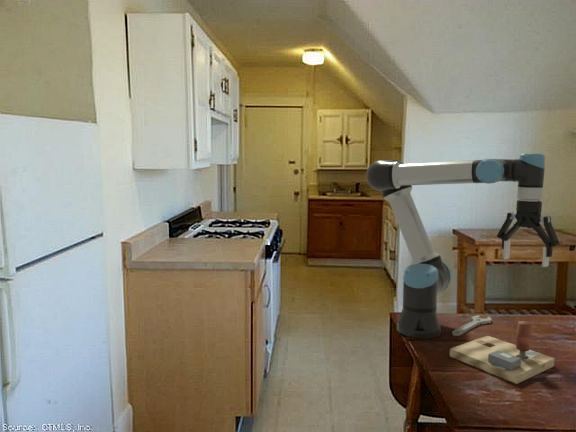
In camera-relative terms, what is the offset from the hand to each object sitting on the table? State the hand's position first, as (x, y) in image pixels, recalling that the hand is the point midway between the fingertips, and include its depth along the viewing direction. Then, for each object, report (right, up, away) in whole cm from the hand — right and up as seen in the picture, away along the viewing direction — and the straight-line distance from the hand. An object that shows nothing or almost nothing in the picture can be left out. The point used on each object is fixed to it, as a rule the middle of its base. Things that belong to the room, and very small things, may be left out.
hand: (525, 262), depth 161 cm
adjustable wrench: (-13, -26, +15) cm, 33 cm away
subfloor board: (-15, -29, -15) cm, 36 cm away
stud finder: (-18, -27, -23) cm, 40 cm away
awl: (-10, -29, -18) cm, 35 cm away
